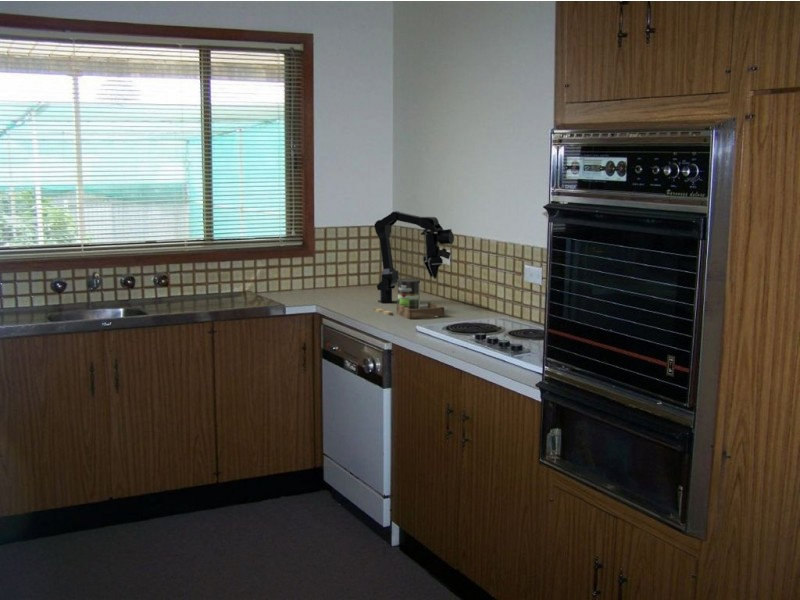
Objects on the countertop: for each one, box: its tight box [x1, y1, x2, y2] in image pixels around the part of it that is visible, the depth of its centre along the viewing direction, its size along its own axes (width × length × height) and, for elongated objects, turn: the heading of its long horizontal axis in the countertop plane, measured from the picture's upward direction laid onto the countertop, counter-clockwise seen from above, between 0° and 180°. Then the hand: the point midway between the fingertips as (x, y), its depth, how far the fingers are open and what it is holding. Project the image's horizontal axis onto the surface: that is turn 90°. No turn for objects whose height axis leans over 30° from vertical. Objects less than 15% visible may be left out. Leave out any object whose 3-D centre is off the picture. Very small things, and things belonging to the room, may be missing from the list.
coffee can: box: [397, 278, 421, 309], centre depth 416 cm, size 10×10×14 cm
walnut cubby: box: [396, 301, 445, 320], centre depth 405 cm, size 15×16×4 cm
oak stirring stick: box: [372, 307, 394, 316], centre depth 412 cm, size 14×2×2 cm, turn 32°
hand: (433, 277), depth 428 cm, fingers open, 9 cm apart
